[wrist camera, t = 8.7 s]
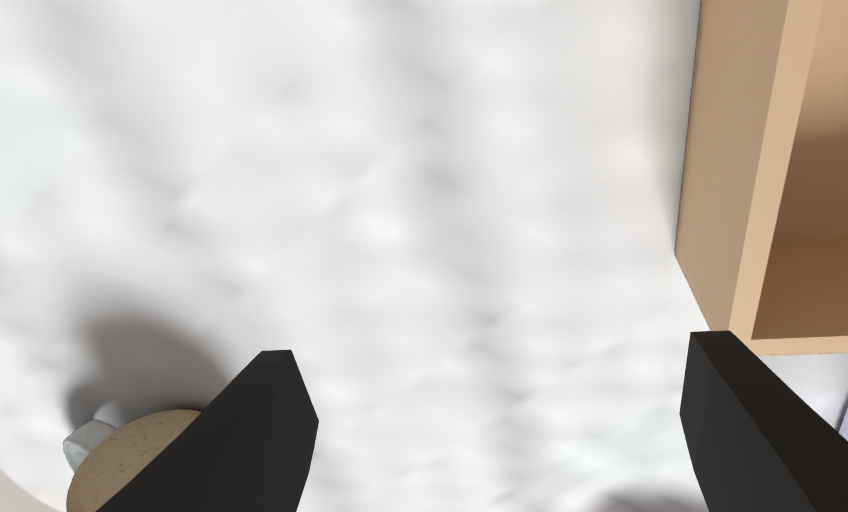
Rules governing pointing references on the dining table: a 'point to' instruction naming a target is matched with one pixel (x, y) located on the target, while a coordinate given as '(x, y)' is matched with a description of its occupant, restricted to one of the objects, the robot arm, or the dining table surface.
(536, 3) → the dining table surface
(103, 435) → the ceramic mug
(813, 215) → the carton
